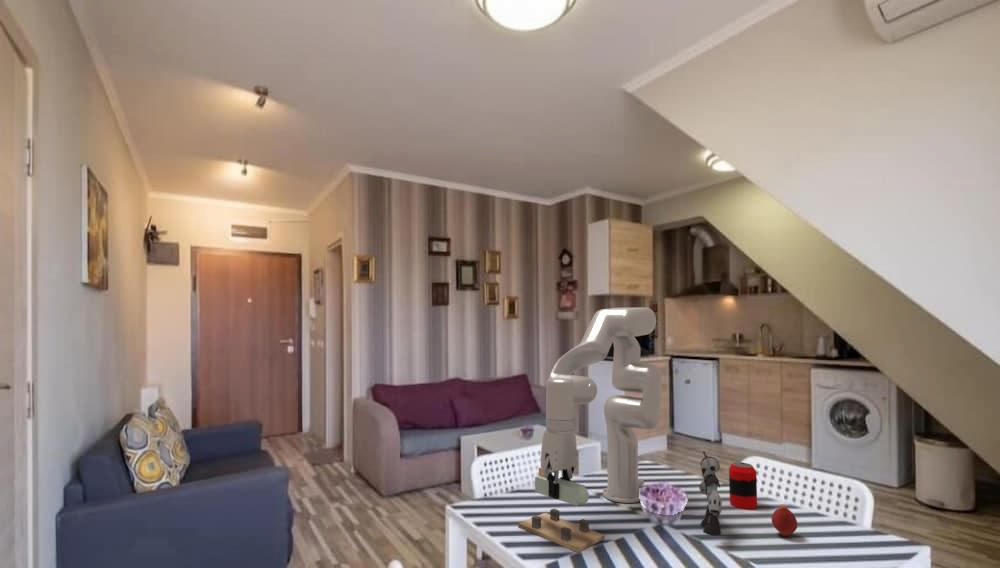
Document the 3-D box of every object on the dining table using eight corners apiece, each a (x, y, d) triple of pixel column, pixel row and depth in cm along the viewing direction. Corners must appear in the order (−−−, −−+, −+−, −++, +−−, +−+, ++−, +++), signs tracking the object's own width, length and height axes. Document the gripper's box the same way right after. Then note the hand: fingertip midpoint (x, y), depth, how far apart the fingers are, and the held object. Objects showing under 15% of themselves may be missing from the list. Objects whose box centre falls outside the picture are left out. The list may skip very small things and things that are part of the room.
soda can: (758, 503, 154) (757, 463, 155) (755, 511, 148) (754, 470, 148) (731, 498, 158) (730, 460, 159) (728, 506, 152) (727, 465, 152)
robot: (728, 546, 125) (726, 463, 126) (707, 543, 126) (705, 462, 127) (714, 516, 144) (712, 445, 145) (696, 514, 145) (695, 444, 146)
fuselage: (544, 488, 139) (544, 466, 139) (592, 504, 127) (592, 479, 127) (534, 491, 136) (534, 469, 136) (582, 507, 124) (582, 482, 125)
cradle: (545, 516, 143) (545, 503, 143) (604, 538, 128) (604, 524, 128) (518, 526, 135) (518, 513, 135) (577, 552, 121) (577, 537, 121)
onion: (794, 533, 133) (793, 502, 133) (800, 542, 127) (799, 509, 128) (770, 530, 135) (769, 499, 135) (774, 538, 129) (773, 506, 130)
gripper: (568, 419, 142) (568, 485, 141) (528, 426, 131) (527, 499, 129) (590, 423, 137) (590, 492, 135) (550, 431, 125) (549, 507, 124)
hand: (559, 494), depth 132 cm, fingers closed on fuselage, 4 cm apart
